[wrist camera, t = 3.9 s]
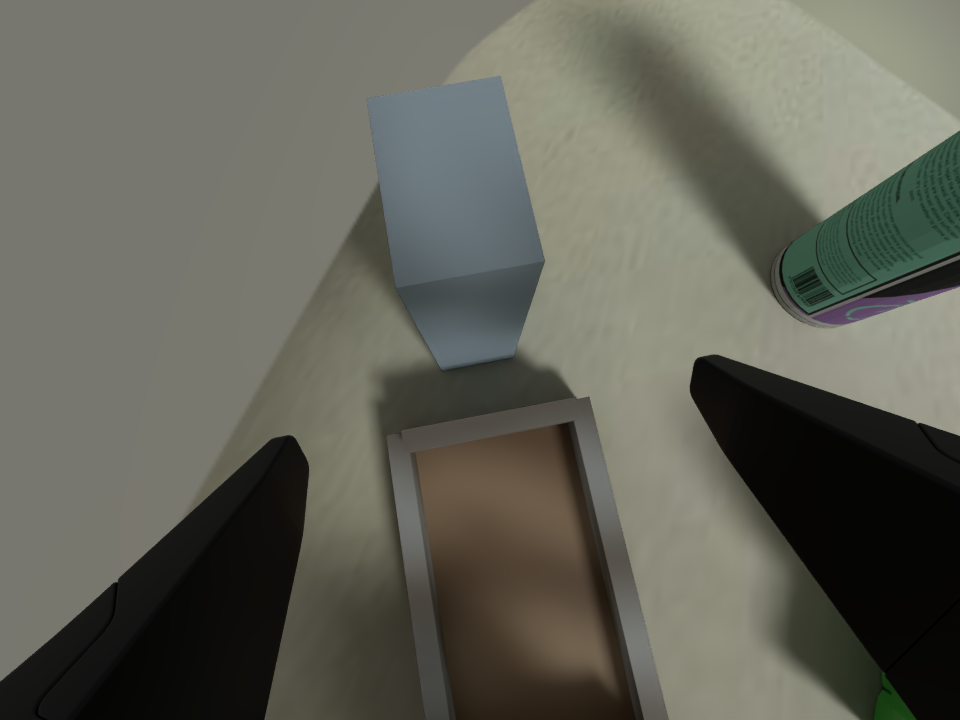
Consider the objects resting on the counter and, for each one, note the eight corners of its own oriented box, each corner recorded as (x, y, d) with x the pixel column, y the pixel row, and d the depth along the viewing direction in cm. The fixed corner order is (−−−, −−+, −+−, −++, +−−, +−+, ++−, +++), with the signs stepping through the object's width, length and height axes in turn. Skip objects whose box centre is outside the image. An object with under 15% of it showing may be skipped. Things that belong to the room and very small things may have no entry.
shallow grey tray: (661, 743, 19) (702, 813, 15) (446, 790, 18) (437, 872, 15) (578, 401, 22) (596, 392, 18) (395, 436, 22) (378, 434, 18)
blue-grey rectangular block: (513, 357, 22) (545, 260, 11) (441, 370, 22) (395, 287, 11) (492, 259, 24) (500, 76, 12) (425, 271, 24) (366, 98, 12)
